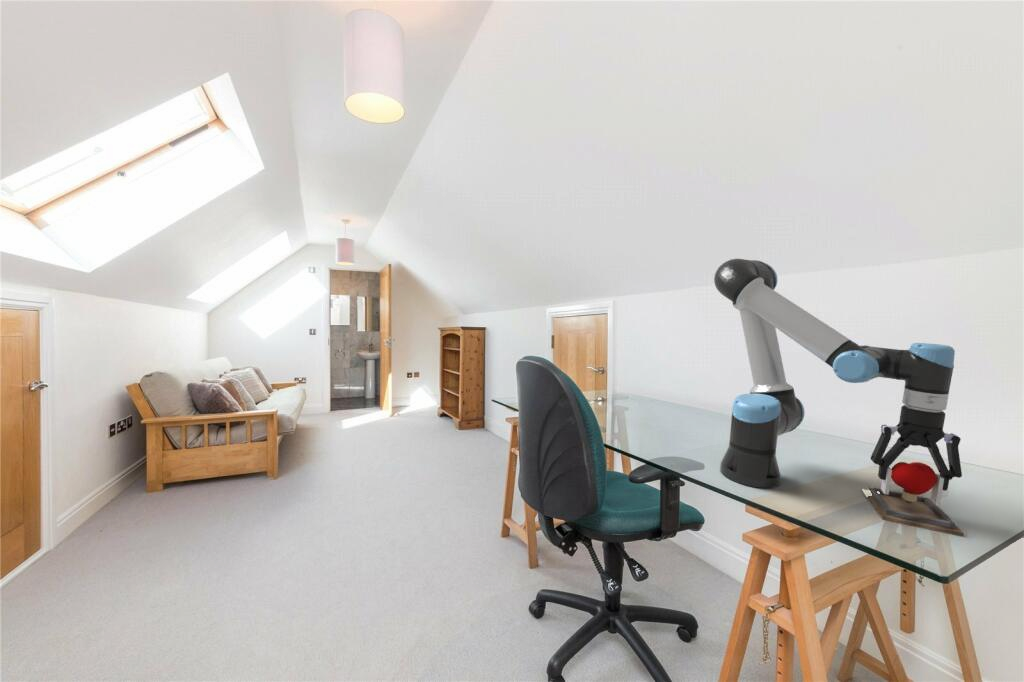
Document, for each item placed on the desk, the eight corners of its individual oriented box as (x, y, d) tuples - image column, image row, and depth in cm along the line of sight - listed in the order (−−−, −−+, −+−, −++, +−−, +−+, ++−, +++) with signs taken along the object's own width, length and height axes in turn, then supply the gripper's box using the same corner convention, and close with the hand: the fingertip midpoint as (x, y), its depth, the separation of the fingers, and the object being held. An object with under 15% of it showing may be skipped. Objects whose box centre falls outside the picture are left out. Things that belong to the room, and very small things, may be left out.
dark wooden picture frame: (882, 519, 97) (883, 511, 97) (861, 490, 111) (862, 483, 111) (963, 536, 91) (965, 528, 91) (930, 503, 105) (931, 496, 105)
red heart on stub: (912, 495, 105) (918, 457, 103) (941, 509, 98) (948, 470, 96) (877, 494, 104) (883, 457, 103) (904, 509, 97) (910, 469, 96)
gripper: (871, 405, 99) (858, 492, 102) (996, 419, 90) (978, 515, 93) (861, 398, 106) (850, 480, 109) (976, 410, 97) (961, 500, 99)
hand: (909, 496), depth 101 cm, fingers closed on red heart on stub, 9 cm apart
